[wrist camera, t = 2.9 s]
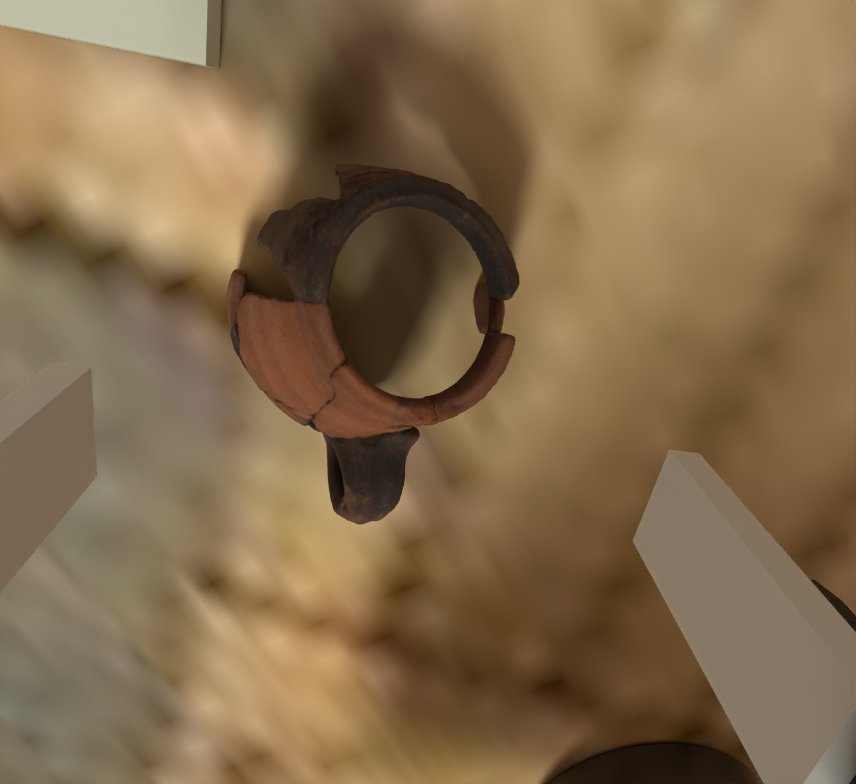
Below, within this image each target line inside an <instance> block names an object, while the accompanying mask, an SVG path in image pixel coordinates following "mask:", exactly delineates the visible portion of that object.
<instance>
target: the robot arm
mask: <svg viewBox="0 0 856 784" xmlns="http://www.w3.org/2000/svg"><path fill="white" fill-rule="evenodd" d="M96 477H97V461H96V443H95V426H94V408H93V391H92V373H91V367H86V366H79V365H72V364H65V363H58V362H52V363H51V364H50V365H48V366H47V367H45V368H44V369H43V370H41V371H40V372H39V373H37V374H36V375H34V376H33V377H32V378H30V379H29V380H27V381H26V382H25V383H23V384H22V385H21V386H19V387H18V388H16V389H15V390H14V391H12V392H11V393H10V394H8V395H7V396H5V397H4V398H3V399H1V400H0V593H1V591H2V590H3V589H4V588H5V587H6V585H7V584H8V583H9V582H10V581H11V579H12V578H13V577H14V576H15V574H16V573H17V572H18V571H19V570H20V568H21V567H22V566H23V565H24V564H25V562H26V561H27V560H28V559H29V558H30V556H31V555H32V554H33V553H34V552H35V550H36V549H37V548H38V547H39V545H40V544H41V543H42V542H43V541H44V539H45V538H46V537H47V536H48V535H49V533H50V532H51V531H52V530H53V529H54V527H55V526H56V525H57V524H58V523H59V521H60V520H61V519H62V518H63V517H64V515H65V514H66V513H67V512H68V510H69V509H70V508H71V507H72V506H73V504H74V503H75V502H76V501H77V500H78V498H79V497H80V496H81V495H82V494H83V492H84V491H85V490H86V489H87V488H88V486H89V485H90V484H91V483H92V482H93V480H94V479H95V478H96ZM633 543H634V545H635V547H636V548H637V550H638V552H639V554H640V556H641V558H642V560H643V561H644V563H645V565H646V567H647V569H648V571H649V572H650V574H651V576H652V578H653V580H654V582H655V584H656V585H657V587H658V589H659V591H660V593H661V595H662V597H663V598H664V600H665V602H666V604H667V606H668V608H669V609H670V611H671V613H672V615H673V617H674V619H675V621H676V622H677V624H678V626H679V628H680V630H681V632H682V634H683V635H684V637H685V639H686V641H687V643H688V645H689V646H690V648H691V650H692V652H693V654H694V656H695V658H696V659H697V661H698V663H699V665H700V667H701V669H702V671H703V672H704V674H705V676H706V678H707V680H708V682H709V684H710V685H711V687H712V689H713V691H714V693H715V695H716V696H717V698H718V700H719V702H720V704H721V706H722V708H723V709H724V711H725V713H726V715H727V717H728V719H729V721H730V722H731V724H732V726H733V728H734V730H735V732H736V733H737V735H738V737H739V739H740V741H741V743H742V745H743V746H744V748H745V750H746V752H747V754H748V756H749V758H750V759H751V761H752V763H753V765H754V767H755V769H756V770H757V772H758V774H759V776H760V778H761V780H762V782H763V783H764V784H856V616H855V615H854V614H853V613H852V612H851V610H850V609H849V608H848V607H847V606H846V605H845V604H844V603H843V602H842V601H841V600H840V599H839V598H837V597H836V596H835V595H833V594H832V593H831V592H830V591H828V590H827V589H826V588H824V587H823V586H822V585H820V584H819V583H818V582H816V581H815V580H810V579H809V578H808V577H807V576H806V575H805V574H804V572H803V571H802V570H801V569H800V568H799V567H798V566H797V564H796V563H795V562H794V561H793V560H792V559H791V558H790V556H789V555H788V554H787V553H786V552H785V551H784V550H783V548H782V547H781V546H780V545H779V544H778V543H777V542H776V540H775V539H774V538H773V537H772V536H771V535H770V534H769V532H768V531H767V530H766V529H765V528H764V527H763V526H762V524H761V523H760V522H759V521H758V520H757V519H756V518H755V516H754V515H753V514H752V513H751V512H750V511H749V510H748V508H747V507H746V506H745V505H744V504H743V503H742V502H741V500H740V499H739V498H738V497H737V496H736V495H735V493H734V492H733V491H732V490H731V489H730V488H729V487H728V485H727V484H726V483H725V482H724V481H723V480H722V479H721V477H720V476H719V475H718V474H717V473H716V472H715V471H714V469H713V468H712V467H711V466H710V465H709V464H708V463H707V461H706V460H705V459H704V458H703V457H702V456H701V455H700V453H693V452H686V451H679V450H672V449H669V451H668V454H667V456H666V459H665V461H664V464H663V466H662V469H661V471H660V474H659V476H658V479H657V481H656V484H655V486H654V489H653V491H652V494H651V496H650V499H649V501H648V504H647V506H646V509H645V511H644V514H643V516H642V519H641V521H640V524H639V526H638V529H637V531H636V534H635V536H634V539H633ZM550 784H759V782H758V780H757V778H756V777H755V776H754V774H753V773H752V772H751V771H750V770H749V769H748V768H747V767H745V766H744V765H743V764H742V763H740V762H739V761H737V760H735V759H734V758H732V757H730V756H728V755H726V754H723V753H721V752H718V751H715V750H712V749H708V748H704V747H699V746H693V745H684V744H653V745H643V746H636V747H631V748H626V749H621V750H617V751H614V752H610V753H607V754H604V755H601V756H598V757H595V758H593V759H591V760H588V761H586V762H584V763H582V764H580V765H578V766H576V767H574V768H572V769H570V770H569V771H567V772H565V773H564V774H562V775H561V776H559V777H558V778H556V779H555V780H554V781H552V782H551V783H550Z"/></svg>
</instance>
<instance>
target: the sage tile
mask: <svg viewBox="0 0 856 784" xmlns="http://www.w3.org/2000/svg"><path fill="white" fill-rule="evenodd" d="M221 8H222V0H0V26H4V27H9V28H14V29H19V30H24V31H29V32H34V33H39V34H44V35H49V36H54V37H59V38H64V39H69V40H74V41H79V42H84V43H89V44H94V45H99V46H104V47H109V48H114V49H119V50H124V51H129V52H134V53H139V54H144V55H149V56H154V57H159V58H164V59H169V60H174V61H179V62H184V63H189V64H194V65H199V66H204V67H209V68H214V69H219V63H220V35H221Z"/></svg>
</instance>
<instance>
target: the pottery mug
mask: <svg viewBox="0 0 856 784" xmlns="http://www.w3.org/2000/svg"><path fill="white" fill-rule="evenodd" d="M335 171H336V174H337V176H338V177H339V178H340V180H339V183H340V189H341V191H340V193H341V196H340V199H338V200H331V199H326V198H316V199H307V200H304V201H301V202H299V203H298V204H296V205H295V206H294V207H292V208H291V209H289V210H280V211H276V212H274V213H272V214H271V215H270V216H269V218H268V220H267V221H266V223H265V225H264V226H263V228H262V230H261V231H260V233H259V235H258V239H257V243H258V245H259V246H260V247H261V248H263V249H265V250H267V251H269V252H271V254H272V257H273V259H274V261H275V263H276V265H277V266H278V267H279V269H280V270H281V271H282V272H283V274H284V277H285V278H286V280H287V283H288V284H289V286H290V288H291V290H292V292H293V294H294V299H287V298H273V297H266V296H261V295H259V294H256V293H252V292H248V293H246V294H245V291H246V284H247V274H246V273H245V272H244V271H242V270H237V269H235V270H234V271H233V272H232V275H231V278H230V282H229V286H228V292H227V298H228V322H229V325H230V328H231V333H230V335H231V339H232V343H233V346H234V349H235V351H236V353H237V355H238V356H239V358H240V360H241V362H242V364H243V365H244V367H245V368H246V370H247V371H248V373H249V374H250V376H251V377H252V379H253V380H254V382H255V383H256V384H257V386H258V387H259V389H260V390H262V391H264V393H265V394H266V395H267V396H268V398H269V399H270V400H271V401H272V402H273V403H274V404H275V405H276V406H277V407H278V408H279V409H280V410H282V411H283V412H284V413H285V414H287V415H288V416H289V417H291V418H292V419H293V420H295V421H296V422H298V423H300V424H302V425H303V426H306V425H310V426H311V427H312V428H313V429H314V430H316V431H319V432H322V433H323V436H324V438H325V441H326V445H327V467H328V484H329V492H330V498H331V502H332V506H333V509H334V511H335V512H336V513H337V514H338V515H340V516H341V517H343V518H344V519H346V520H348V521H351V522H354V523H356V524H365V523H367V522H370V521H378V520H381V519H382V518H384V517H385V516H386V515H387V514H388V513H389V512H391V511H392V510H393V509H394V508H395V507H396V505H397V504H398V502H399V500H400V497H401V493H402V489H403V486H404V480H405V463H406V457H407V455H408V452H409V450H410V449H411V447H412V446H413V444H414V443H415V442H416V441H417V440H418V438H419V436H420V433H419V431H418V429H417V428H416V427H414V426H420V425H433V424H436V423H438V422H442V421H445V420H447V419H449V418H453V417H455V416H457V415H458V414H460V413H462V412H464V411H466V410H467V409H469V408H470V407H472V406H473V405H475V404H476V403H477V402H479V401H480V400H481V399H483V398H484V397H485V396H486V395H487V393H488V392H489V391H490V390H491V388H492V387H493V386H494V385H495V384H496V383H497V381H498V379H499V378H500V376H501V375H502V374H503V372H504V371H505V369H506V366H507V364H508V362H509V359H510V357H511V355H512V352H513V349H514V345H515V337H514V336H512V335H508V334H505V333H501V330H502V326H503V318H504V314H505V307H504V300H508V299H510V298H512V296H513V295H514V293H515V291H516V290H517V288H518V286H519V274H518V271H517V268H516V263H515V261H514V258H513V256H512V253H511V251H510V250H509V248H508V246H507V243H506V241H505V239H504V236H503V234H502V232H501V231H500V230H499V228H498V227H497V225H496V223H495V222H494V221H493V220H492V218H491V216H490V215H488V214H487V213H486V212H485V211H484V210H483V209H482V208H481V207H480V206H479V205H478V204H477V203H476V202H474V201H472V200H469V199H467V198H466V196H465V195H464V193H462V192H460V191H459V190H457V189H455V188H454V187H453V186H451V185H450V184H447V183H443V182H440V181H437V180H435V179H431V178H428V177H424V176H421V175H417V174H415V173H412V172H408V171H401V170H397V169H386V168H378V167H373V166H363V165H358V164H352V165H337V166H336V168H335ZM396 206H412V207H417V208H422V209H426V210H428V211H431V212H434V213H436V214H438V215H439V216H441V217H442V218H444V219H446V220H447V221H449V223H450V224H452V225H453V226H454V227H455V228H456V229H457V230H458V231H459V232H460V233H461V234H462V235H463V236H464V237H465V238H466V239H467V241H468V242H469V243H470V245H471V246H472V248H473V250H474V251H475V253H476V255H477V257H478V259H479V261H480V264H481V266H482V269H483V272H484V275H485V279H486V281H485V283H483V284H482V285H481V286H480V288H479V289H478V290H477V291H476V292H475V294H474V300H473V302H474V309H475V317H476V324H477V327H478V330H479V332H480V333H482V334H485V337H484V341H483V344H482V346H481V349H480V351H479V353H478V355H477V357H476V359H475V361H474V362H473V364H472V365H471V367H470V368H469V370H468V371H467V372H466V373H465V374H464V375H463V376H462V378H461V379H459V380H458V381H457V382H456V383H455V384H454V385H452V386H451V387H449V388H448V389H446V390H444V391H443V392H440V393H438V394H435V395H431V396H425V397H424V398H420V399H416V398H405V397H400V396H395V395H392V394H389V393H387V392H385V391H383V390H381V389H379V388H377V387H376V386H374V385H373V384H372V383H370V382H369V381H368V380H366V379H365V378H364V377H363V376H362V375H361V374H360V373H359V372H358V371H357V370H356V368H355V367H354V366H353V364H352V363H351V362H350V361H349V359H348V358H347V356H346V354H345V352H344V350H343V348H342V346H341V344H340V342H339V340H338V337H337V334H336V331H335V328H334V323H333V318H332V312H331V306H330V301H329V299H328V296H329V290H330V284H331V277H332V272H333V269H334V265H335V262H336V259H337V256H338V254H339V252H340V250H341V248H342V246H343V245H344V243H345V242H346V240H347V239H348V237H349V236H350V234H351V233H352V232H353V231H354V230H355V228H356V227H357V226H359V225H360V224H361V223H362V222H363V221H364V220H365V219H367V218H368V217H370V216H371V214H372V213H375V212H378V211H381V210H383V209H386V208H391V207H396Z"/></svg>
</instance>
